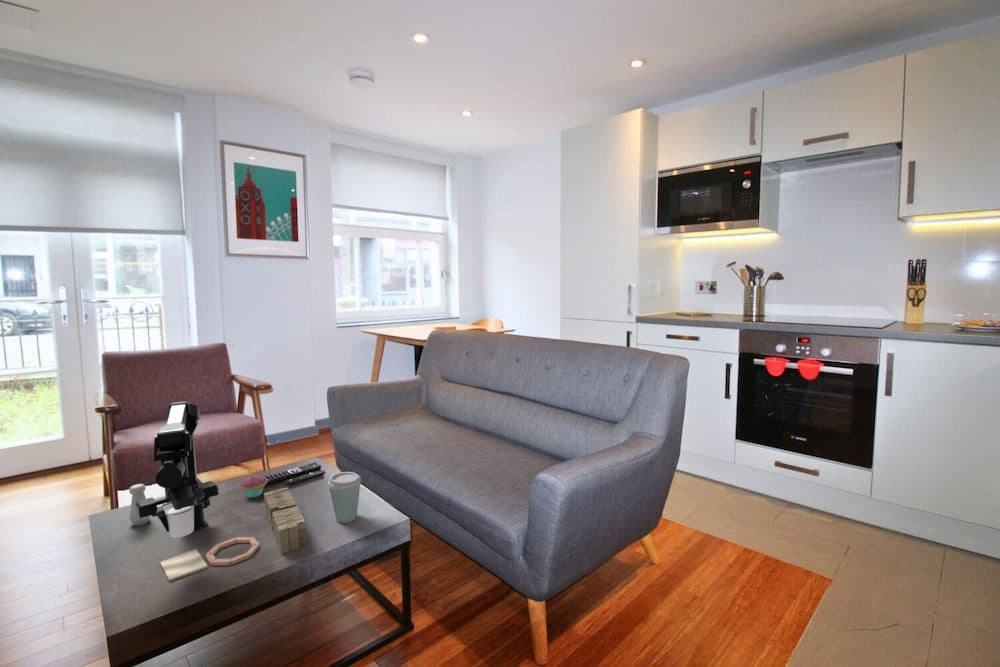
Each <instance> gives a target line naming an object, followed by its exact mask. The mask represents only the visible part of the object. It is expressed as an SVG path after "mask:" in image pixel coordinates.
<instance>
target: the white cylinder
mask: <svg viewBox="0 0 1000 667" xmlns="http://www.w3.org/2000/svg"><path fill="white" fill-rule="evenodd" d="M164 511H165V514H166V519H167V523H168V527H169V532H168V533H169V536H170V537H171V538H174V539H175V538H182V537H186V536H188V535H190V534H192V533H193V532H194V531H195V530H194V505H193V506H188V507H185V508H182V509H180V510H175V509H174V507H173V506H171V507H169V508H167V509H166V510H164Z"/></svg>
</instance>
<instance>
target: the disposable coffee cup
mask: <svg viewBox="0 0 1000 667" xmlns="http://www.w3.org/2000/svg"><path fill="white" fill-rule="evenodd" d="M328 478H329V479H328V480H327V486H328V488H329V494H330V498H331V501H332V506H333V507H332V508H333V512H334V515H335V519H336V521H337V522H339V523H340V524H341V523H343V524H346V523H351V522H353V521H355V520H356V518H357V516H358V508H359V499H360V489H361V488H360V487H361V482H362V479H361V478H362V477H361V475H359V474H358V473H356V472H352V471H339V472H336V473H333V474H332V475H330V476H329V477H328Z"/></svg>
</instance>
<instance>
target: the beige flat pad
mask: <svg viewBox="0 0 1000 667" xmlns="http://www.w3.org/2000/svg"><path fill="white" fill-rule="evenodd" d="M159 563H160V566H161V568H162V570H163V572H164V573H165V576H166V577H167V579H168V582H170V583H171V582H174V581H176V580H178V579H182V578H184V577H186V576H188V575H191V574H195V573H196V572H199V571H202V570H205V569H207V568H208V564H207V562H206V561H205V560H204V559H203V556H202V555H201V553H200V552H199V551H198V549H197V548H194V549H192V550H189V551H186V552H183V553H181V554H177V555H174V556H172V557H170V558H165V559H164V560H161V561H159Z"/></svg>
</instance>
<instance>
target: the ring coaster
mask: <svg viewBox="0 0 1000 667" xmlns="http://www.w3.org/2000/svg"><path fill="white" fill-rule="evenodd" d="M234 544H250V545H251V547H250V548H249V549H248V551H246V552H245V553H243V554H239V555H237V556H233V557H232V558H216V557H215V555H216V554H217V553H218V552H219V550H221V549H223V548H226V547H228V546H232V545H234ZM258 549H260V542H259V541H258V540H256V539H255V537H253V536H243V537H242V536H239V537H238V536H237V537H233V538H231V539H227V540H225V541H222V542H219V543H217V544H215V545H214V546H213V547H211V549H210V550H209V551H208V552H206V554H205V559H207V562H208V563H209V564H210V566H232V565H235V564H237V563H239V562H242V561H244V560H247V559H249V558H251V557H253V555H255V553H256V552H257V550H258Z"/></svg>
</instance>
